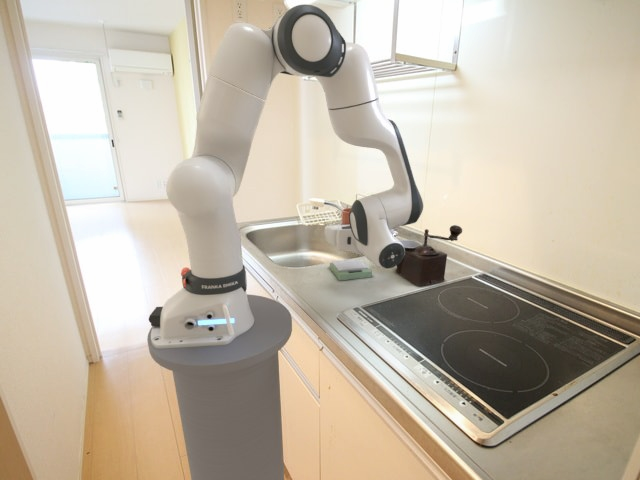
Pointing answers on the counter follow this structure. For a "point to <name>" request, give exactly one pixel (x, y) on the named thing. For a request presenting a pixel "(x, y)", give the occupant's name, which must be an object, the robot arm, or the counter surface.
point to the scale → (350, 269)
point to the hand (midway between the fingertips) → (350, 225)
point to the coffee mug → (407, 246)
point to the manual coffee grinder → (427, 261)
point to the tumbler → (345, 216)
